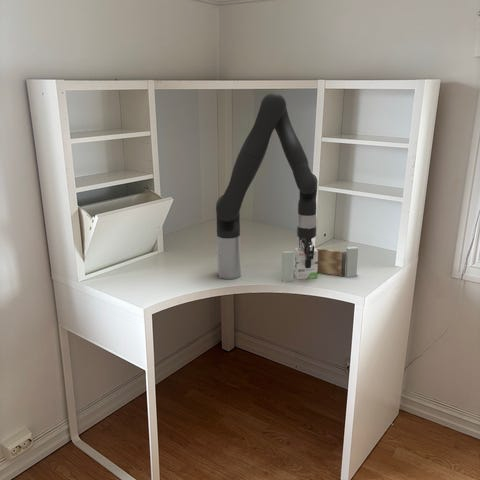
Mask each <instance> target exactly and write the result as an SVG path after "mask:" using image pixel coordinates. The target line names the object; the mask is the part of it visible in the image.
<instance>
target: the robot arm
mask: <svg viewBox="0 0 480 480" xmlns="http://www.w3.org/2000/svg"><path fill="white" fill-rule="evenodd" d="M274 130H275V132H276V135H277V137H278V139H279V143H280V146H281V148H282V150H283V154H284V155H285V158H286V160H287V162H288V165H289V167H290V169H291V171H292V173H293V174H292V175H293V179H294V181H295V184H296V186H297V189H298V190H299V200H298V203H297V204H298V205H297V219H296V236H297V237H298V248H303V251H304V254H305V268H311V259H313V256H314V248H315V245H314V244H313V241H312V239H315V237H316V236H317V221H318V220H317V194H318V178H317V176H316V175H315V174H314V173H312V171H311V168H310V166H309V161H308V157H307V155H306V152H305V150H304V148H303V145H302V144H301V141H300V140H299V138H298V135H297V134H296V132H295V130H294V127H293V125H292V123H291V119H290V117H289V113H288V107H287V101H286V99H285V97H284V96H283V95H282V94H280V93H278V92H270V93H268V94H266V95H264V97H263V98H262V100H261V102H260V107H259V110H258V113H257V116H256V118H255V121H254V123H253V126H252V128H251V130H250V131H249V133H248V135H247V137H246V138H245V139H244V142H243V144H242V146H241V148H240V150H239V153H238V154H237V157H236V159H235V162H234V165H233V169H232V172H231V175H230V179H229V183H228V185H227V187H226V190H225V192H224V193H223V195H221V196H219V198H218V199H217V201H216V204H215V212H216V242H217V243H216V244H217V245H216V246H217V247H216V248H217V251H216V263H217V268H216V269H217V276H218V279H224V280H234V279H238V278H239V277H240V276H241V275H242V273H241V272H242V271H241V268H242V266H241V224H240V222H241V221H240V219H241V218H240V216H241V215H240V214H241V213H240V211H241V208H242V204H243V202H244V199H245V196H246V193H247V192H248V189H249V188H250V186H251V184H252V182H253V180H254V179H255V176H256V175H257V173H258V171H259V170H260V168H261V167H260V166H261V164H262V163H263V160H264V158H265V156H266V153H267V150H268V146H269V143H270V139H271V137H272V134H273V132H274ZM306 250H307V251H306ZM309 255H310V256H309Z"/></svg>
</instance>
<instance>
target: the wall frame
mask: <svg viewBox="0 0 480 480" xmlns="http://www.w3.org/2000/svg"><path fill="white" fill-rule="evenodd" d="M345 252H346V266H345V276H346V278H350V277H357V275H358V274H357V271H358V258H359V255H358V254H359V247H357V246H347V247H346V251H345ZM281 258H282V261H281V262H282V263H281V264H282V266H281V267H282V268H281V269H282V270H281V271H282V274H281V280H282V282H283V283H287V282H294V267H295V251H293V250H286V251H284V250H283V251H282V257H281Z"/></svg>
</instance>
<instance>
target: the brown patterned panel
mask: <svg viewBox="0 0 480 480" xmlns="http://www.w3.org/2000/svg"><path fill="white" fill-rule="evenodd" d="M315 248H316V249H317V251H318V266H317V273H322V274H327V275H334V276H340V277H345V276H346V275H345V269H346V251H343V250H342V251H341V250H334V249H328V248H327V249H326V248H320V247H315Z"/></svg>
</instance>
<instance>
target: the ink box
mask: <svg viewBox="0 0 480 480" xmlns="http://www.w3.org/2000/svg"><path fill="white" fill-rule="evenodd" d="M316 248H317V247H314V256H313V259H311V268H305V254H304V251H303V248H299V247H297V248H296V247H295V248H294V273H293V276H295V277H294V278H295V279H296V280H307V279H310V280H311V279H318V272H317V266H318V251H317V249H316ZM306 251H307V250H306ZM309 256H310V255H309Z"/></svg>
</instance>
